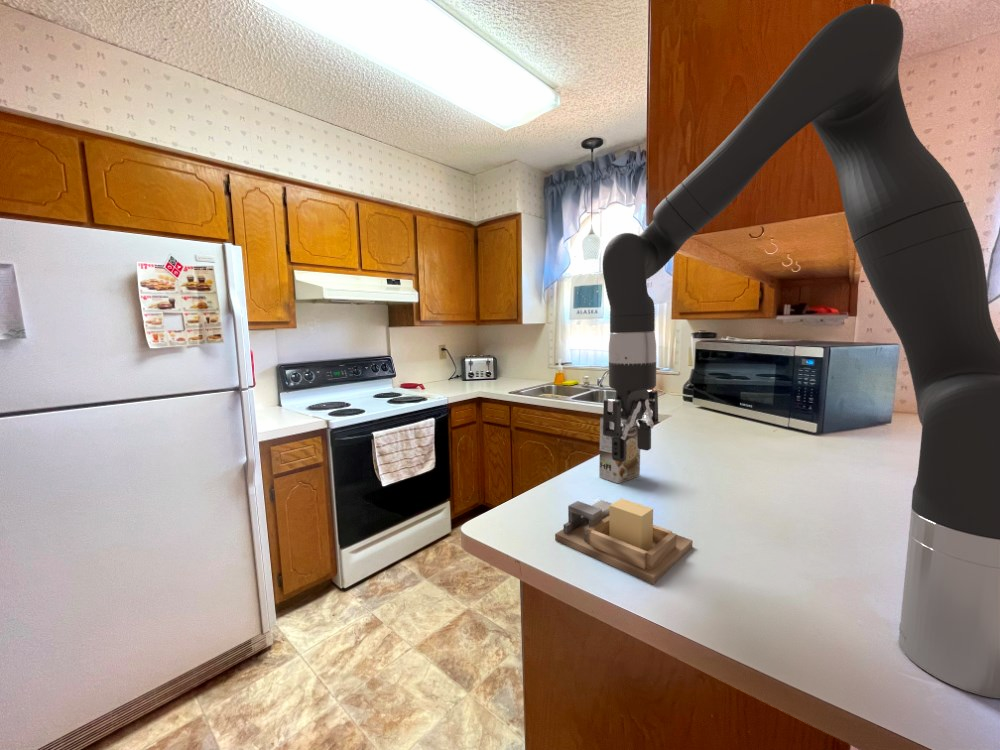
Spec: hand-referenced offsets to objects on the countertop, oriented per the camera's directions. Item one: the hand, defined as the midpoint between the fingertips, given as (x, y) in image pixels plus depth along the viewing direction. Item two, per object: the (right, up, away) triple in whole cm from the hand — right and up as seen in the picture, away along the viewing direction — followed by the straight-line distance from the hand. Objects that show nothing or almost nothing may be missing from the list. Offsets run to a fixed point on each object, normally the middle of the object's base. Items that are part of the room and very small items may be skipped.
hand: (632, 454), depth 69 cm
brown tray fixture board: (0, -17, +5) cm, 18 cm away
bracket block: (0, -16, +2) cm, 16 cm away
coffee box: (+9, -13, +38) cm, 41 cm away
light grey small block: (-3, -15, +11) cm, 19 cm away
